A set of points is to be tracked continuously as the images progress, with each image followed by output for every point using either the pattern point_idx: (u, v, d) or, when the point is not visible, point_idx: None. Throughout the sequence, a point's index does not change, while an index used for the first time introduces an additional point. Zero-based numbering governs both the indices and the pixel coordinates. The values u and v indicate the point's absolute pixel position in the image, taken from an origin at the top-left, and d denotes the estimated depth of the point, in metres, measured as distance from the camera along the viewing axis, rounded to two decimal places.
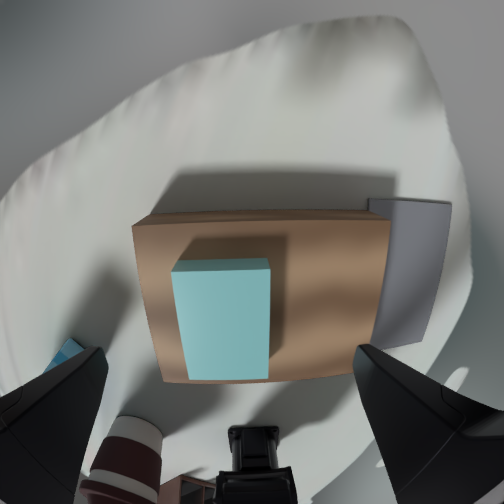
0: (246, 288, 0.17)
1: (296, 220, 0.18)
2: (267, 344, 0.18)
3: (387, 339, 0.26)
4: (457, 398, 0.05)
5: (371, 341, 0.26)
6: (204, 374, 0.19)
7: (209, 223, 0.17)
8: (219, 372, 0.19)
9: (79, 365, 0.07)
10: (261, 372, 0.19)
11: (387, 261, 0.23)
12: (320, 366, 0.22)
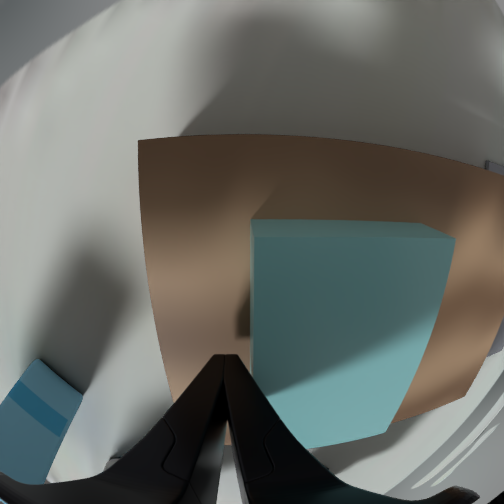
0: (414, 278, 0.07)
1: (454, 161, 0.08)
2: (409, 383, 0.08)
3: None
4: (285, 443, 0.04)
5: None
6: None
7: (319, 140, 0.07)
8: (312, 438, 0.09)
9: (220, 378, 0.07)
10: (380, 426, 0.09)
11: None
12: (429, 399, 0.12)
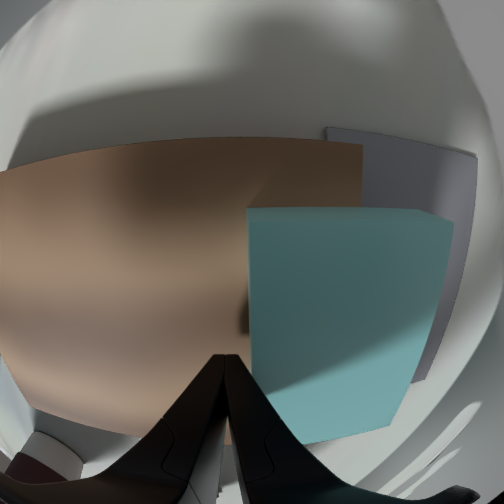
0: (413, 263, 0.07)
1: (131, 145, 0.07)
2: (412, 372, 0.08)
3: None
4: (286, 443, 0.04)
5: None
6: None
7: (11, 170, 0.07)
8: (315, 432, 0.09)
9: (220, 378, 0.07)
10: (384, 419, 0.09)
11: None
12: None
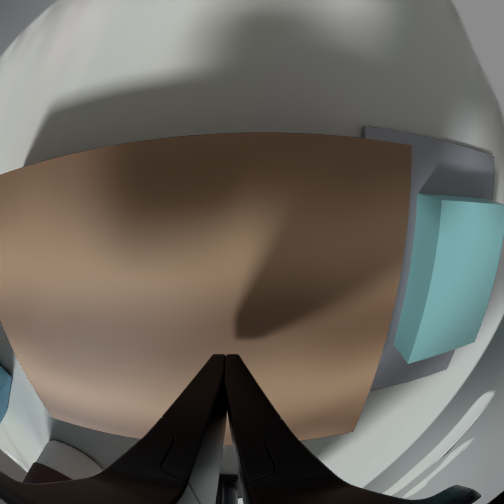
0: None
1: (188, 137, 0.07)
2: None
3: (398, 371, 0.15)
4: (286, 442, 0.04)
5: None
6: None
7: (39, 164, 0.07)
8: None
9: (220, 378, 0.07)
10: None
11: None
12: None
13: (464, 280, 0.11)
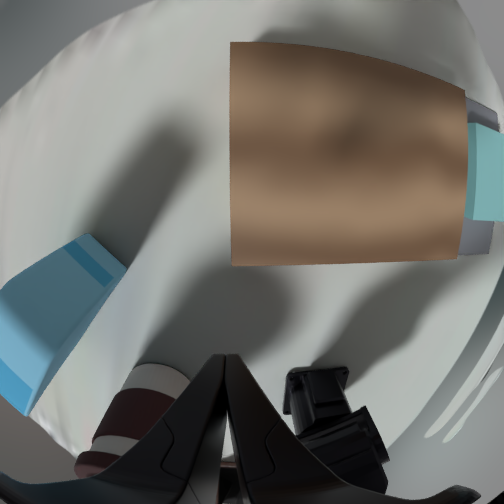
0: None
1: (395, 64, 0.13)
2: None
3: (463, 242, 0.21)
4: (286, 443, 0.04)
5: None
6: None
7: (318, 48, 0.13)
8: None
9: (220, 378, 0.07)
10: None
11: None
12: (423, 242, 0.17)
13: (491, 170, 0.17)
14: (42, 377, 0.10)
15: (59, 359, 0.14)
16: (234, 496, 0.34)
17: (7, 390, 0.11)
